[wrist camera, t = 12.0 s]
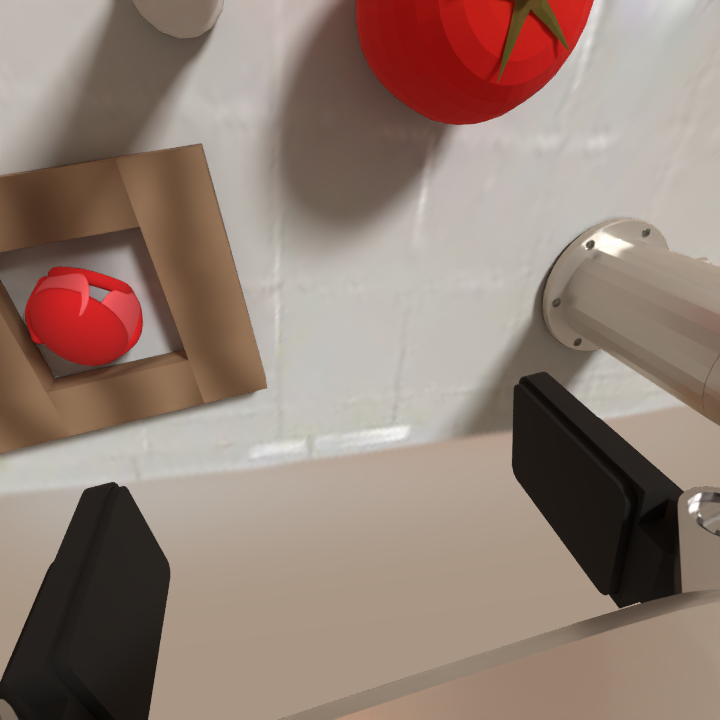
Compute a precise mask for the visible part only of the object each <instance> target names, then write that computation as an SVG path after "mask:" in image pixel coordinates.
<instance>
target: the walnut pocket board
mask: <svg viewBox="0 0 720 720" xmlns="http://www.w3.org/2000/svg"><path fill="white" fill-rule="evenodd" d="M136 227H140V229H141V231H142V234H143V237H144V240H145V242H146V245H147V248H148V250H149V253H150V256H151V259H152V261H153V264H154V267H155V270H156V272H157V275H158V278H159V280H160V283H161V286H162V289H163V291H164V294H165V297H166V300H167V302H168V305H169V308H170V311H171V313H172V316H173V319H174V321H175V324H176V327H177V330H178V332H179V335H180V338H181V341H182V343H183V346H184V349H185V350H180V351H176V352H172V353H167V354H163V355H158V356H154V357H149V358H145V359H140V360H136V361H132V362H127V363H123V364H118V365H114V366H109V367H105V368H100V369H96V370H92V371H87V372H83V373H78V374H74V375H69V376H65V377H60V378H56V379H55V378H54V376H53V375H52V373H51V371H50V369H49V367H48V365H47V364H46V362H45V360H44V358H43V356H42V355H41V353H40V351H39V349H38V347H37V345H36V344H35V342H34V341H33V340H32V338H31V335H30V333H29V331H28V329H27V327H26V325H25V324H24V322H23V320H22V318H21V316H20V315H19V313H18V311H17V309H16V307H15V306H14V304H13V302H12V300H11V298H10V296H9V295H8V293H7V291H6V289H5V287H4V286H3V284H2V282H1V280H0V453H3V452H7V451H11V450H15V449H20V448H24V447H28V446H32V445H36V444H40V443H44V442H48V441H52V440H56V439H61V438H65V437H69V436H73V435H77V434H81V433H85V432H89V431H93V430H97V429H102V428H106V427H110V426H114V425H118V424H122V423H126V422H130V421H134V420H138V419H143V418H147V417H151V416H155V415H159V414H163V413H167V412H171V411H175V410H179V409H184V408H188V407H192V406H196V405H200V404H204V403H208V402H212V401H216V400H220V399H225V398H229V397H233V396H237V395H241V394H245V393H249V392H253V391H257V390H261V389H266V388H267V384H266V377H265V373H264V369H263V366H262V362H261V358H260V355H259V351H258V347H257V344H256V340H255V336H254V333H253V329H252V325H251V322H250V318H249V314H248V311H247V307H246V303H245V300H244V296H243V292H242V289H241V285H240V281H239V278H238V274H237V270H236V267H235V263H234V260H233V256H232V252H231V249H230V245H229V241H228V238H227V234H226V230H225V227H224V223H223V219H222V216H221V212H220V208H219V205H218V201H217V197H216V194H215V190H214V186H213V183H212V179H211V175H210V172H209V168H208V164H207V161H206V157H205V154H204V150H203V146H202V143H201V144H195V145H189V146H183V147H176V148H170V149H164V150H157V151H151V152H145V153H139V154H132V155H126V156H120V157H114V158H107V159H101V160H95V161H88V162H82V163H76V164H70V165H63V166H57V167H51V168H44V169H38V170H32V171H26V172H19V173H13V174H7V175H1V176H0V252H4V251H10V250H15V249H21V248H26V247H32V246H37V245H42V244H48V243H53V242H59V241H64V240H70V239H75V238H81V237H86V236H92V235H97V234H103V233H108V232H114V231H119V230H125V229H130V228H136Z"/></svg>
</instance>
